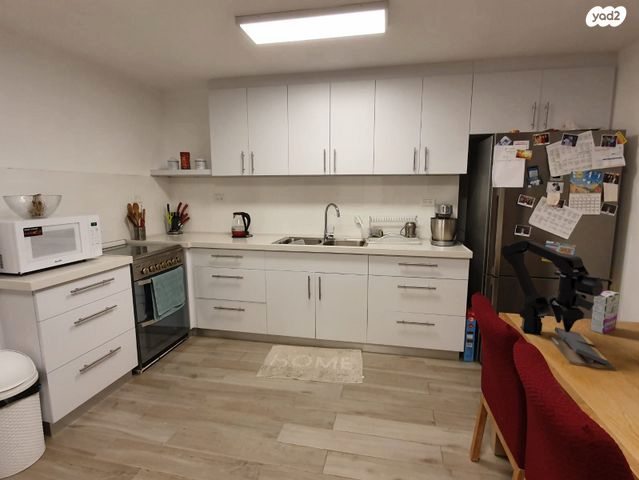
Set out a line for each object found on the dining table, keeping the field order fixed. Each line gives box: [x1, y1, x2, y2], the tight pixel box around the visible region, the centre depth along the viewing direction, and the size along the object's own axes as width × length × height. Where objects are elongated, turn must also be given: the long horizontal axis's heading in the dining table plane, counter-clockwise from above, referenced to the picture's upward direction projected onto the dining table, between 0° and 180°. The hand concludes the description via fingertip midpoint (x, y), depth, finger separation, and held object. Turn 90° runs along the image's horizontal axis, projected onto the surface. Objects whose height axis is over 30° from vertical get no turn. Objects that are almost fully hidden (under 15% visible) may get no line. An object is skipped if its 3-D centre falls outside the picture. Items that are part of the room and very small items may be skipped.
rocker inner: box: [554, 326, 596, 348], centre depth 129 cm, size 10×10×2 cm
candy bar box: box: [589, 290, 621, 335], centre depth 144 cm, size 11×5×16 cm, turn 118°
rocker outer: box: [565, 337, 610, 365], centre depth 119 cm, size 10×10×2 cm
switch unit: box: [548, 334, 616, 371], centre depth 125 cm, size 13×22×2 cm, turn 161°
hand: (562, 327), depth 130 cm, fingers open, 9 cm apart
